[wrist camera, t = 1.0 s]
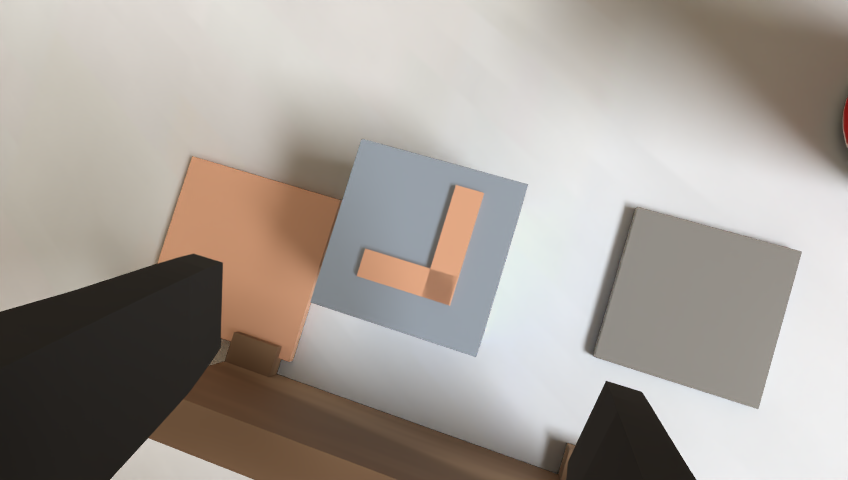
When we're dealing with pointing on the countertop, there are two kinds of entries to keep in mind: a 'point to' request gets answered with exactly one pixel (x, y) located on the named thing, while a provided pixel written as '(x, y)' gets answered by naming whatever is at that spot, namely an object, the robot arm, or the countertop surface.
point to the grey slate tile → (697, 306)
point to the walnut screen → (316, 430)
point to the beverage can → (845, 122)
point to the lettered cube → (419, 246)
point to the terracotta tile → (254, 247)
